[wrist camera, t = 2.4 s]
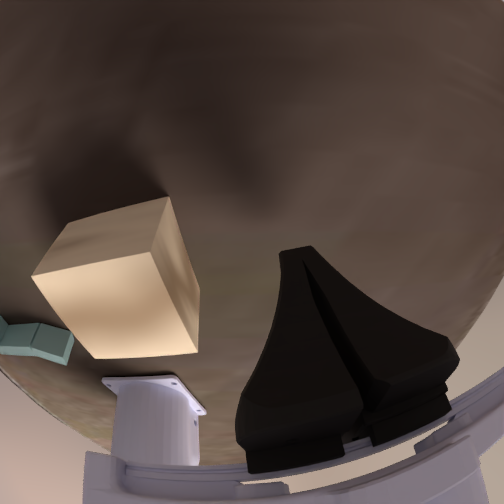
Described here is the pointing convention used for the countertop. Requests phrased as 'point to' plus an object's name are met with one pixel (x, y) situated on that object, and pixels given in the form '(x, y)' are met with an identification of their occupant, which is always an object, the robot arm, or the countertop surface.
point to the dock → (36, 341)
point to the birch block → (124, 283)
